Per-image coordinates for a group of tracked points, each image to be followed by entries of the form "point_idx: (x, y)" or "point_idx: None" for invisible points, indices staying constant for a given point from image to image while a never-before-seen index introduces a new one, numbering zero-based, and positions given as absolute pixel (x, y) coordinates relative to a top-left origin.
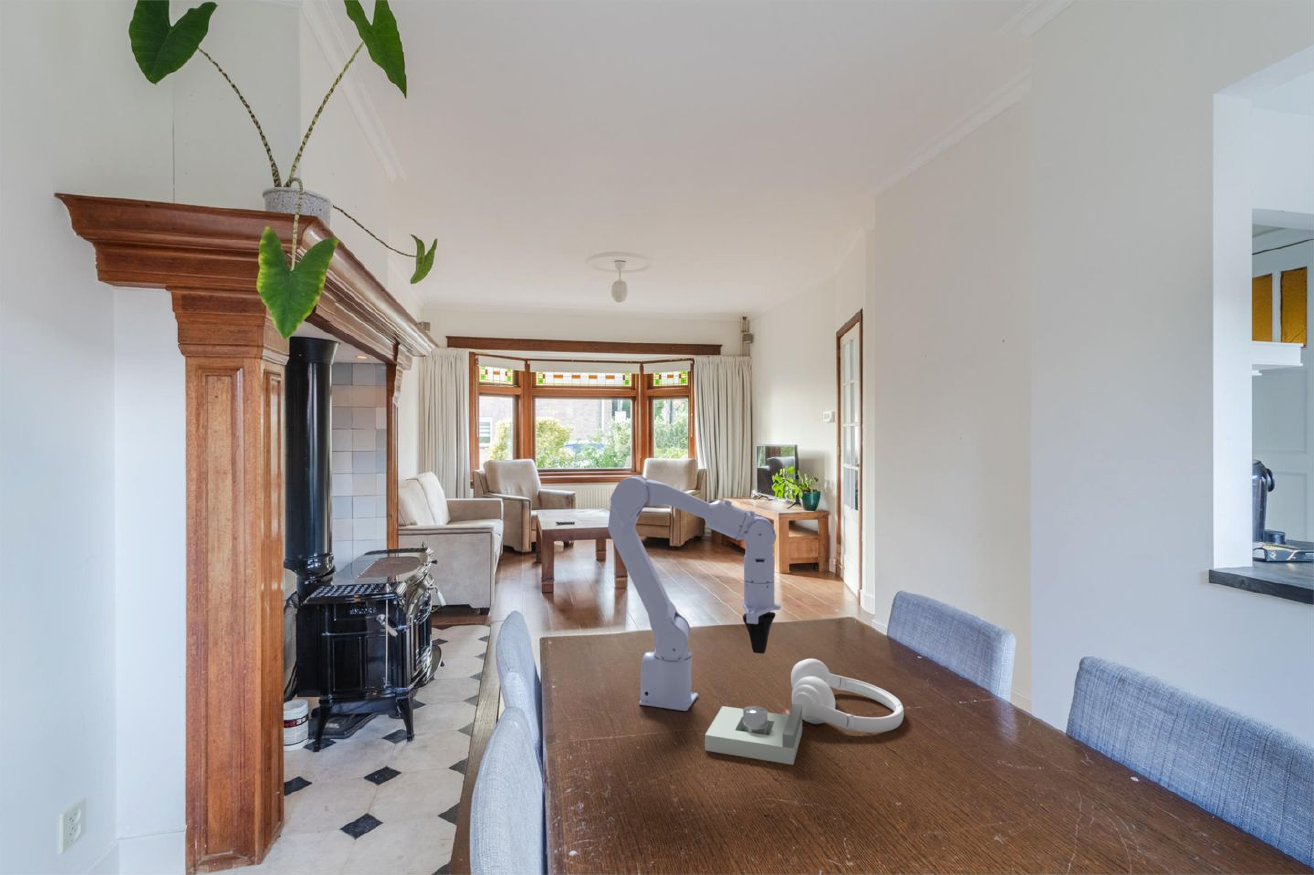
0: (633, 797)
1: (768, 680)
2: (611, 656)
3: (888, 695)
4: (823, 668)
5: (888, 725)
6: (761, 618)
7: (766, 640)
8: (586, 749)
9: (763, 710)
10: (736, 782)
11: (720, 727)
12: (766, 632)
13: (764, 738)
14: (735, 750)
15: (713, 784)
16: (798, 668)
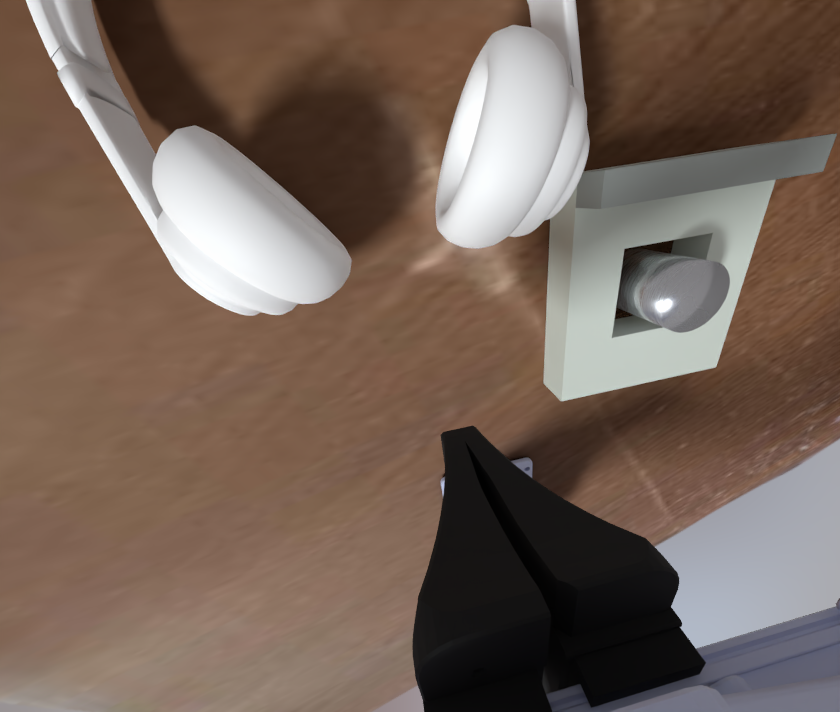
0: (832, 374)
1: (221, 393)
2: (327, 665)
3: None
4: (224, 151)
5: None
6: (666, 627)
7: (504, 462)
8: (696, 492)
9: (692, 277)
10: (805, 247)
11: (679, 355)
12: (560, 498)
13: (730, 238)
14: None
15: (808, 284)
16: (324, 276)
